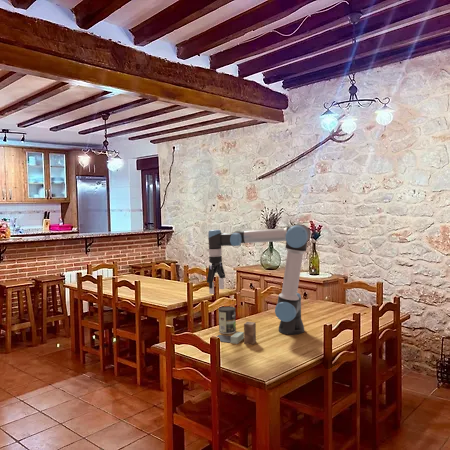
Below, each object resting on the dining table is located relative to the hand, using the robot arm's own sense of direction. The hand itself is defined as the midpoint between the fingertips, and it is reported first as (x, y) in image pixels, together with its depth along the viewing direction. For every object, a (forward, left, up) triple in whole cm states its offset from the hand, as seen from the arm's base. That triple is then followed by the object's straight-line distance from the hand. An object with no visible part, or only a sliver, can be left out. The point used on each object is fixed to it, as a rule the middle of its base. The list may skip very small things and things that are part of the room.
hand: (216, 291), depth 258 cm
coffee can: (-5, -3, -25) cm, 26 cm away
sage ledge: (-17, +10, -25) cm, 32 cm away
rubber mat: (-9, +10, -25) cm, 28 cm away
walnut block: (-25, +11, -25) cm, 37 cm away
